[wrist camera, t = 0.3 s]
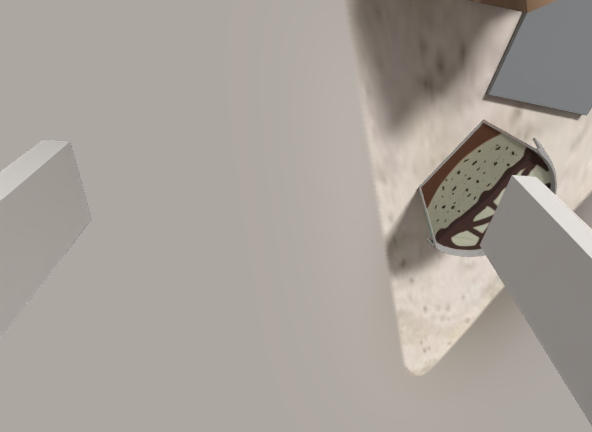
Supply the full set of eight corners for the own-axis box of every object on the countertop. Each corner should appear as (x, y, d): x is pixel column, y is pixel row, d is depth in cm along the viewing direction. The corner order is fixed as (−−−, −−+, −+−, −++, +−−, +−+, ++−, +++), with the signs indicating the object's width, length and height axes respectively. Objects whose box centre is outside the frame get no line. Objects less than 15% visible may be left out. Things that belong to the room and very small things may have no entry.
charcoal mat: (542, -29, 31) (546, -29, 31) (654, -2, 32) (660, -2, 31) (486, 92, 37) (488, 94, 36) (583, 113, 37) (586, 115, 37)
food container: (448, 222, 45) (479, 281, 37) (409, 197, 43) (431, 252, 35) (537, 140, 39) (597, 187, 31) (495, 107, 37) (547, 147, 29)
